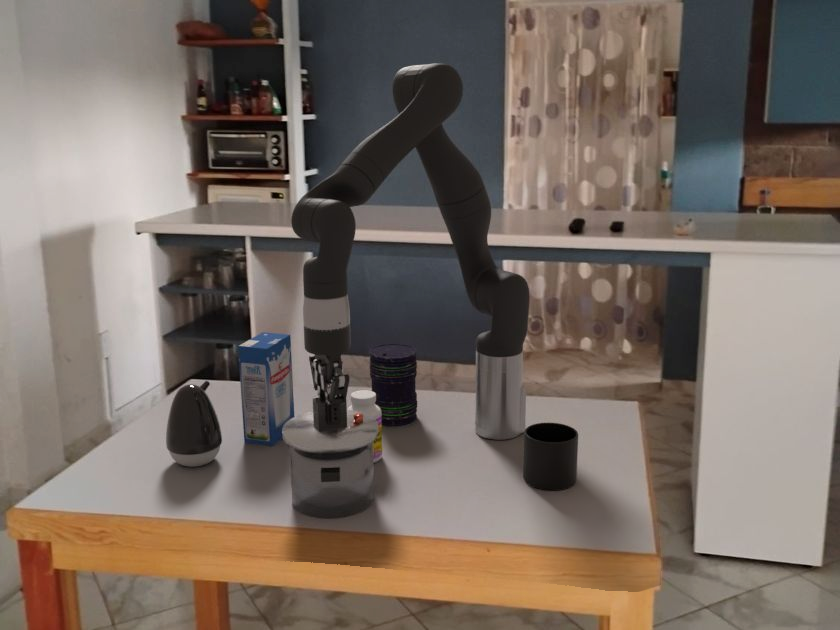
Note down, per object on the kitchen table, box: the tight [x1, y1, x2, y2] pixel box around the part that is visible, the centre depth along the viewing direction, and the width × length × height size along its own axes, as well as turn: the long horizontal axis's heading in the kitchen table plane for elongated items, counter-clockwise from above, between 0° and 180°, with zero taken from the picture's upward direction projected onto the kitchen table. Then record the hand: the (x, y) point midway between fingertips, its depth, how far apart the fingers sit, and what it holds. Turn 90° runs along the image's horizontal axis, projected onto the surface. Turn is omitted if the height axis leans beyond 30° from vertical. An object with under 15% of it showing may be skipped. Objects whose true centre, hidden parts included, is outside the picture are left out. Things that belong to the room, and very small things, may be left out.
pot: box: [288, 441, 375, 519], centre depth 151 cm, size 18×14×10 cm
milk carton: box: [237, 331, 295, 447], centre depth 176 cm, size 10×6×20 cm, turn 161°
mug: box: [522, 422, 579, 491], centre depth 158 cm, size 9×12×9 cm
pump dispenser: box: [165, 380, 223, 468], centre depth 165 cm, size 10×10×15 cm
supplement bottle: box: [347, 389, 383, 464], centre depth 166 cm, size 7×7×13 cm
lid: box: [282, 395, 378, 453], centre depth 148 cm, size 16×16×6 cm
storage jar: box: [369, 343, 418, 428], centre depth 185 cm, size 10×10×15 cm
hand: (330, 420), depth 148 cm, fingers closed on lid, 2 cm apart
